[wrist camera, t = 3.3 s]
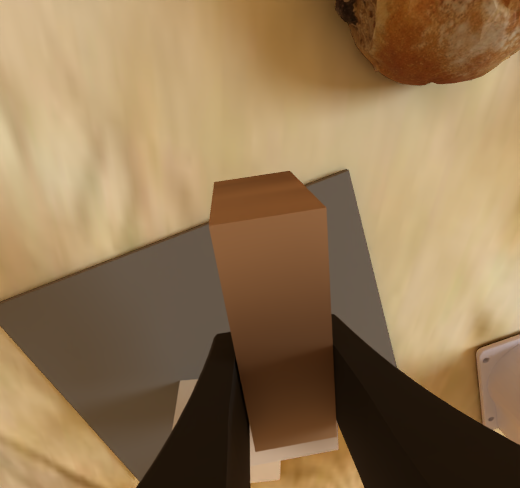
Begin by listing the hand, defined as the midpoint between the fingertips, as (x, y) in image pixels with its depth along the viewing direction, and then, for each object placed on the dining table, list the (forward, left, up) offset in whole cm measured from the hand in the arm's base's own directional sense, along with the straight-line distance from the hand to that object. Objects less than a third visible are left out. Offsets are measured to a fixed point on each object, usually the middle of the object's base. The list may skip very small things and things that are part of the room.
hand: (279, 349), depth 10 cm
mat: (-7, +5, -10) cm, 13 cm away
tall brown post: (-1, 0, -2) cm, 3 cm away
